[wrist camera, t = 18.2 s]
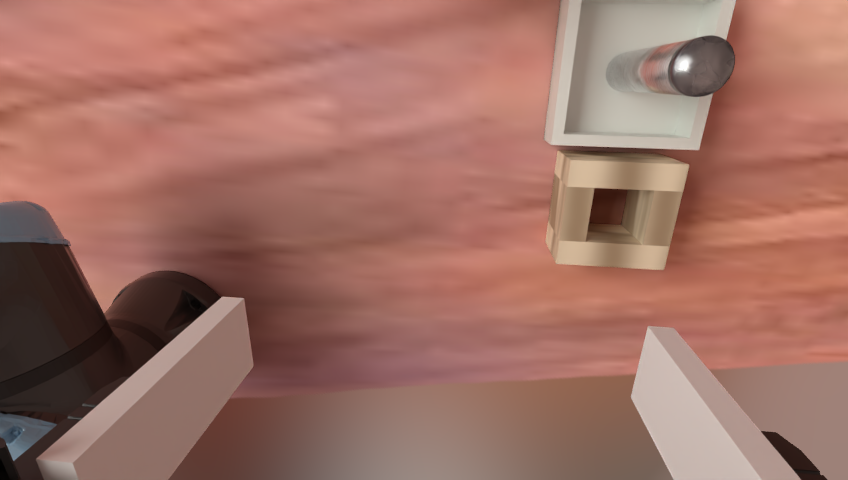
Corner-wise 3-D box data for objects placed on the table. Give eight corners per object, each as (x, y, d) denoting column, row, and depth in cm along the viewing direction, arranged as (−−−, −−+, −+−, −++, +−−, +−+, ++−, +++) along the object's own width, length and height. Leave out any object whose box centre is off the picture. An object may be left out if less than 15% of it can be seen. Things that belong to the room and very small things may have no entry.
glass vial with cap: (602, 91, 40) (667, 96, 27) (608, 50, 39) (680, 34, 25) (640, 92, 39) (725, 97, 26) (648, 51, 38) (742, 35, 25)
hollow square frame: (545, 242, 46) (556, 263, 41) (557, 150, 43) (571, 160, 37) (639, 247, 46) (663, 270, 40) (660, 153, 42) (689, 164, 37)
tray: (543, 139, 43) (551, 144, 39) (561, -8, 38) (571, -18, 34) (678, 144, 42) (698, 150, 38) (712, -7, 37) (740, -17, 33)
